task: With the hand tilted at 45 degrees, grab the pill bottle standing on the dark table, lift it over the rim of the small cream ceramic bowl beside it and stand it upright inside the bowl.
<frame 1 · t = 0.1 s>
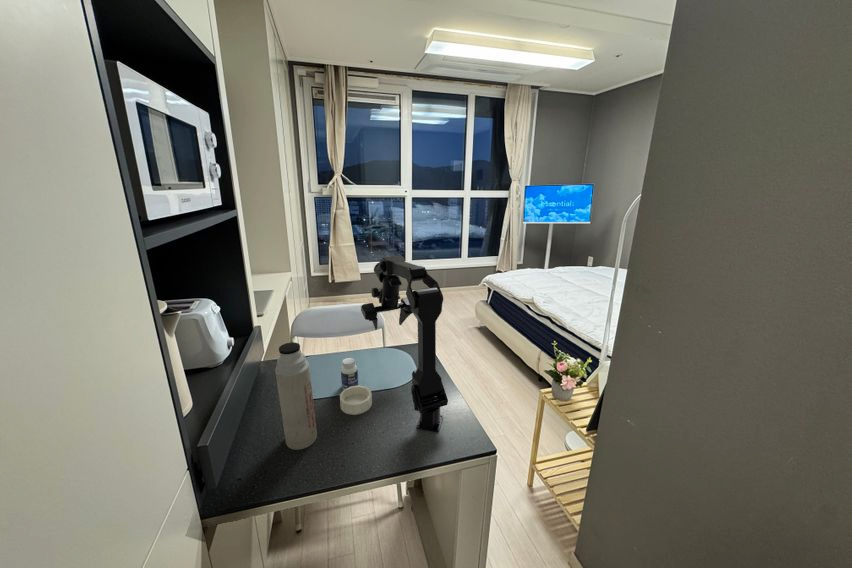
hand: (387, 326, 125), 15 cm above the table, tool pointing down, fingers open, 9 cm apart
thermos bottle: (301, 439, 94), on the table
bowl: (356, 404, 108), on the table
pill bottle: (350, 387, 117), on the table
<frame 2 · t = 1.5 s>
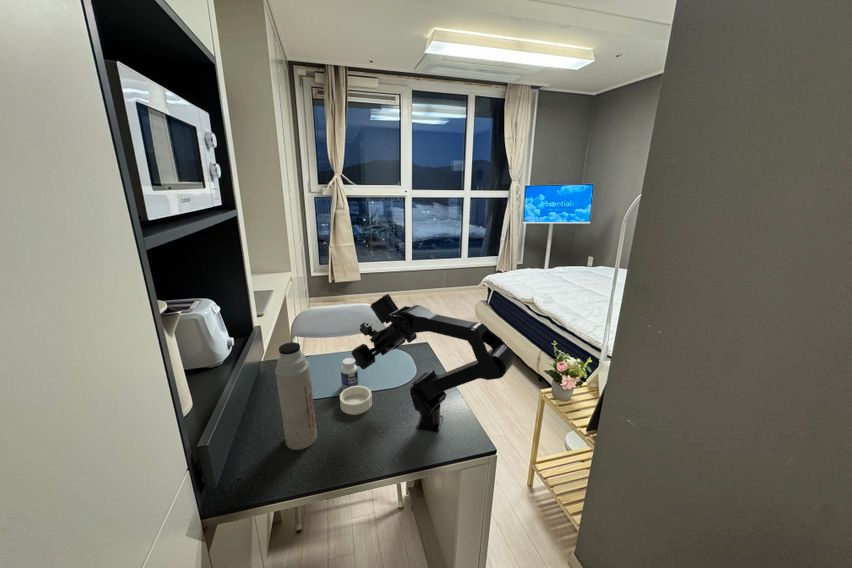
hand: (366, 357, 108), 13 cm above the table, tool tilted 45°, fingers open, 9 cm apart
nothing on the table moved.
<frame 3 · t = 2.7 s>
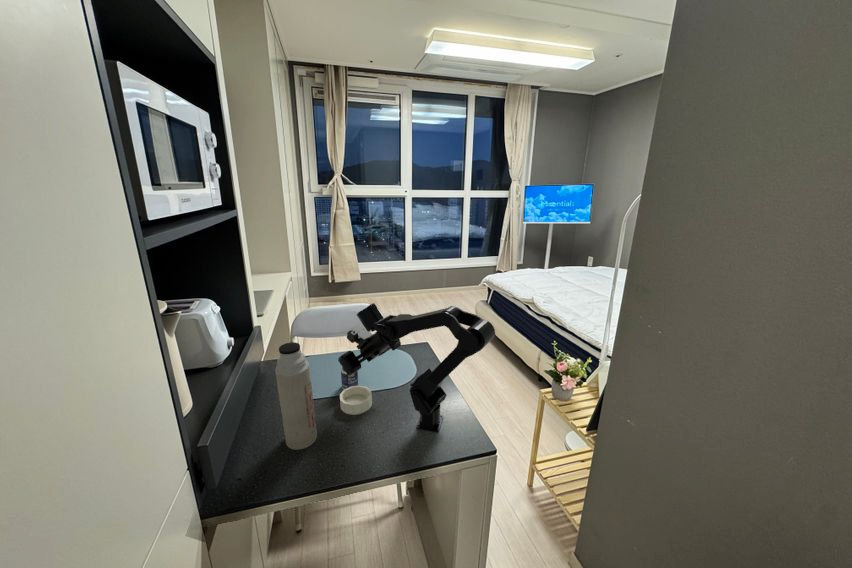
hand: (353, 363, 112), 10 cm above the table, tool tilted 45°, fingers open, 9 cm apart
nothing on the table moved.
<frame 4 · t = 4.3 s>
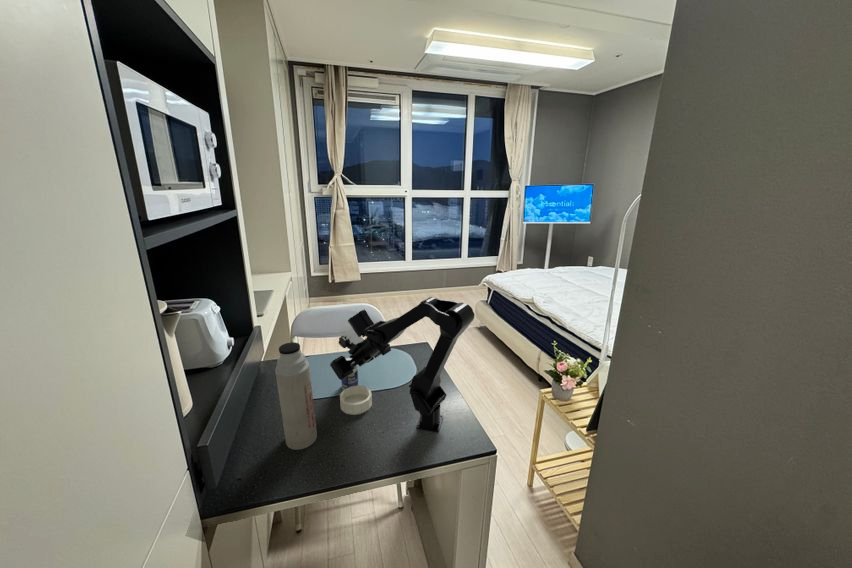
hand: (346, 367, 115), 7 cm above the table, tool tilted 45°, fingers closed on pill bottle, 5 cm apart
pill bottle: (350, 386, 116), on the table, touching gripper
everything else where it was.
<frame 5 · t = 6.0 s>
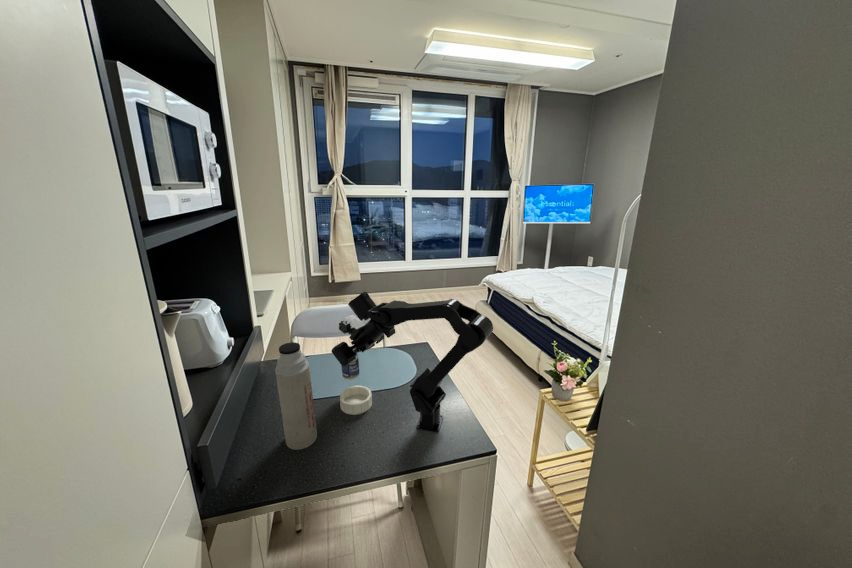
hand: (346, 356, 109), 13 cm above the table, tool tilted 45°, fingers closed on pill bottle, 5 cm apart
pill bottle: (351, 376, 111), point 6 cm above the table, touching gripper
everything else where it was.
when the fingers open (8 cm above the table, at t = 8.1 s): pill bottle stays where it is, resting on bowl.
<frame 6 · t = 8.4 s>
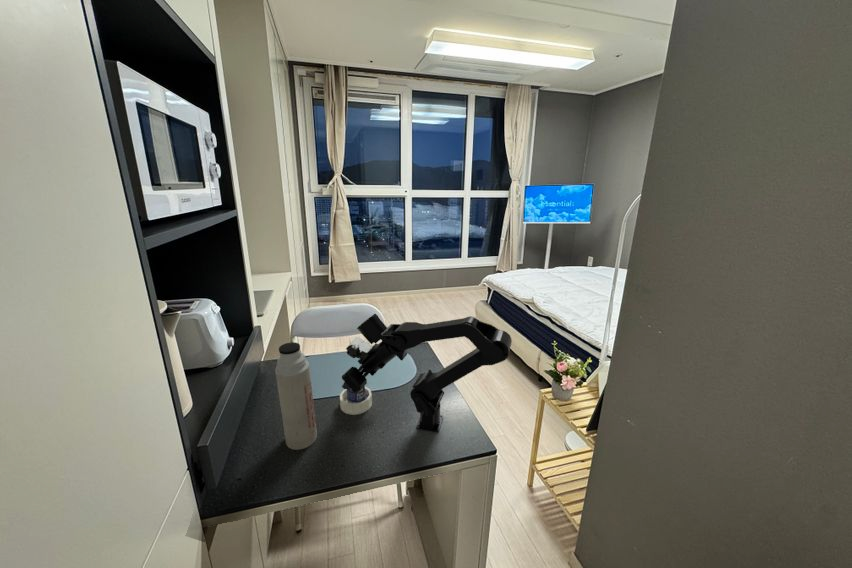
hand: (350, 379, 105), 9 cm above the table, tool tilted 45°, fingers open, 8 cm apart
pill bottle: (356, 402, 107), point 1 cm above the table, touching bowl
everything else where it was.
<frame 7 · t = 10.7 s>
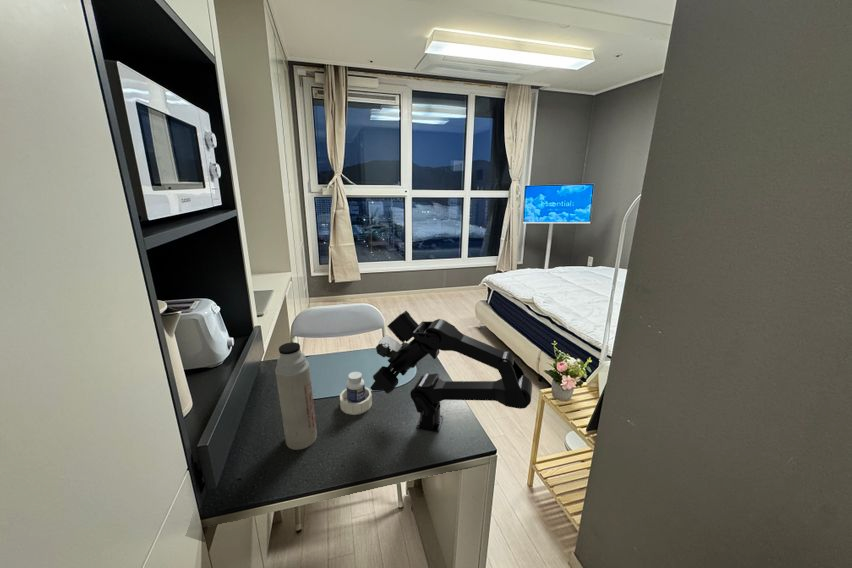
hand: (378, 380, 102), 11 cm above the table, tool tilted 45°, fingers open, 9 cm apart
nothing on the table moved.
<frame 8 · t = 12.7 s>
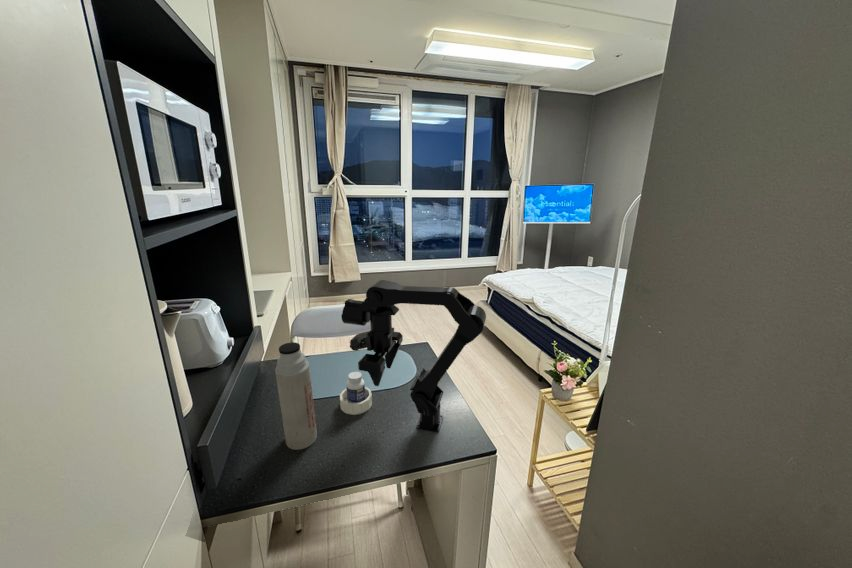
hand: (382, 376, 99), 13 cm above the table, tool pointing down, fingers open, 9 cm apart
nothing on the table moved.
at the end: pill bottle 0.2 cm off-centre on the bowl, point 0.6 cm above the bowl's base; pill bottle tilted 0°; the gripper is holding nothing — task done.
